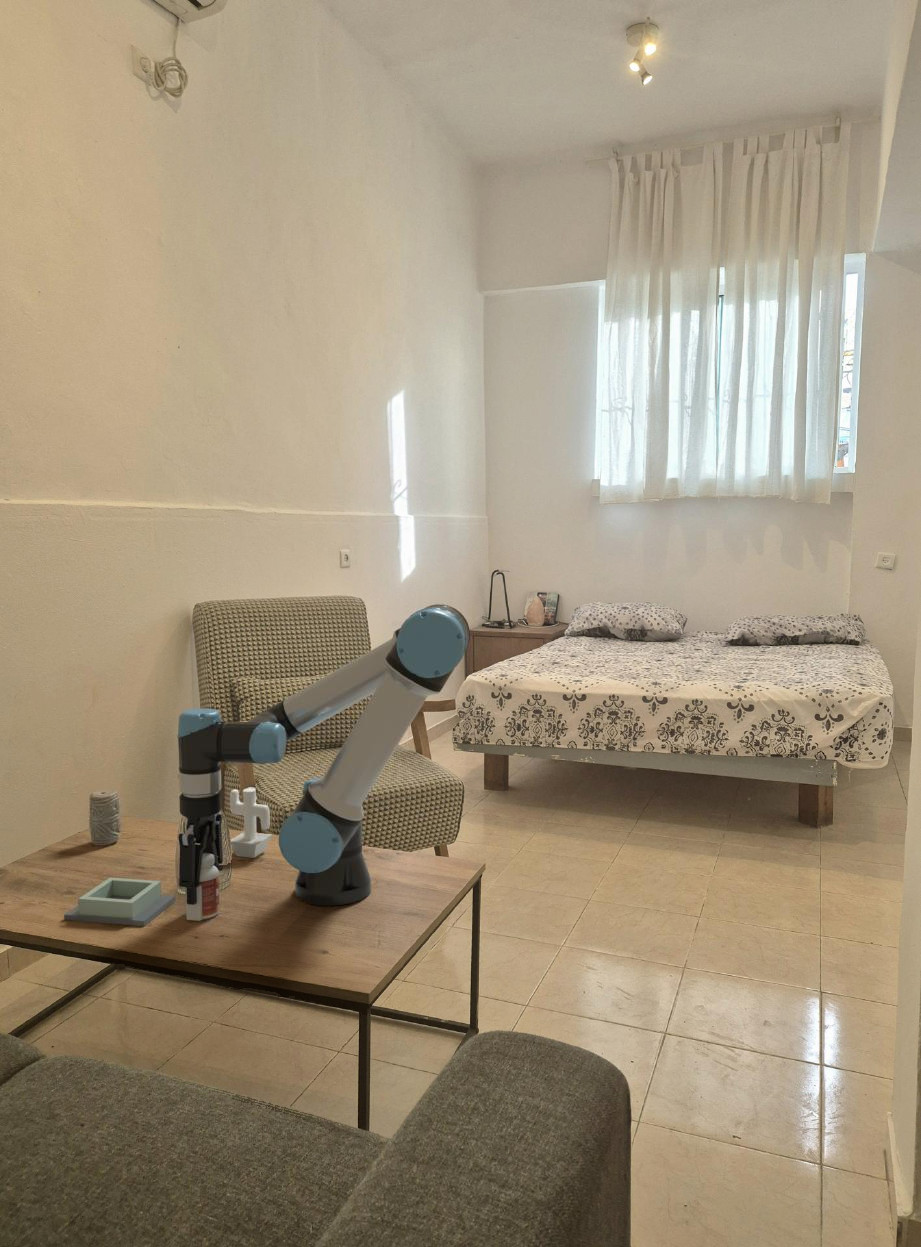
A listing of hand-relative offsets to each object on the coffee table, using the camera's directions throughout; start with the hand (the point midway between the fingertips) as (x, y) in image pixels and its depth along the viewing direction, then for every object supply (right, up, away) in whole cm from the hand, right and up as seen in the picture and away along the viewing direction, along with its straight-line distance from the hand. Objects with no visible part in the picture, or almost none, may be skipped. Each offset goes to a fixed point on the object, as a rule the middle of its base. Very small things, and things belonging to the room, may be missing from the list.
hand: (202, 911), depth 170 cm
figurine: (+1, +2, +33) cm, 33 cm away
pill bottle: (0, -1, 0) cm, 1 cm away
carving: (-34, +3, +40) cm, 53 cm away
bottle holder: (-16, 0, +2) cm, 16 cm away
